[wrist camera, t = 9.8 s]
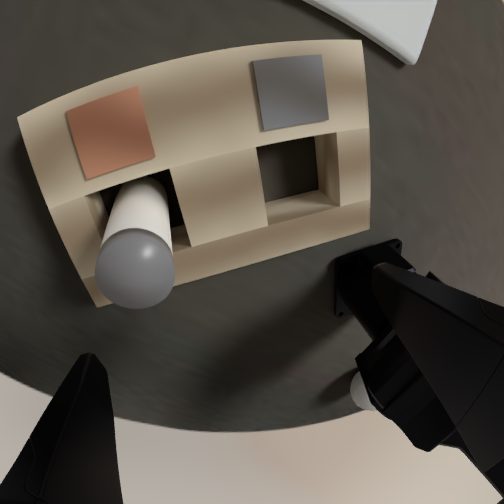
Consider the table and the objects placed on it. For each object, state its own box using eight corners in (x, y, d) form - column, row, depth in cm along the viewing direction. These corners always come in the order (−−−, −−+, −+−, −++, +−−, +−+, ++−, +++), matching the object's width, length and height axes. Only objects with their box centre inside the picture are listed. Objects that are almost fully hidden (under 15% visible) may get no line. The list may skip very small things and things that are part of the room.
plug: (173, 216, 19) (184, 297, 13) (125, 231, 19) (114, 316, 12) (160, 168, 18) (160, 229, 11) (109, 184, 17) (81, 254, 11)
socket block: (347, 210, 23) (370, 230, 20) (102, 279, 20) (96, 309, 18) (334, 42, 16) (363, 39, 13) (37, 110, 14) (15, 117, 11)
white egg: (333, 386, 35) (353, 422, 31) (361, 353, 33) (385, 390, 29) (372, 385, 39) (392, 416, 34) (398, 356, 36) (421, 387, 32)
